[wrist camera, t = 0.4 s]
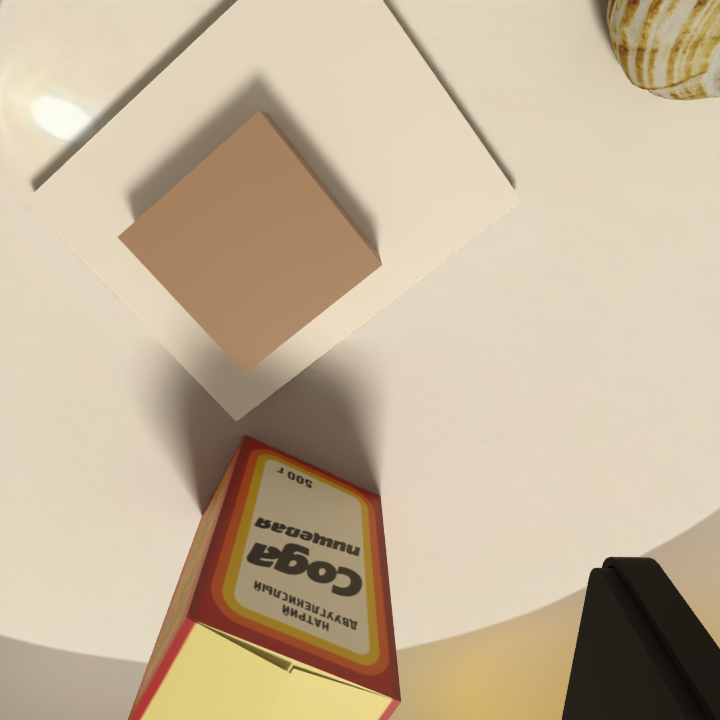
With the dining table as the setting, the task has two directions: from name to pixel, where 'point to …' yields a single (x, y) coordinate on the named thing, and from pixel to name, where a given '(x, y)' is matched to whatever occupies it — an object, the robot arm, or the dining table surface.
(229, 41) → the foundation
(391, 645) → the baking soda box
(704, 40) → the seashell
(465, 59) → the dining table surface
